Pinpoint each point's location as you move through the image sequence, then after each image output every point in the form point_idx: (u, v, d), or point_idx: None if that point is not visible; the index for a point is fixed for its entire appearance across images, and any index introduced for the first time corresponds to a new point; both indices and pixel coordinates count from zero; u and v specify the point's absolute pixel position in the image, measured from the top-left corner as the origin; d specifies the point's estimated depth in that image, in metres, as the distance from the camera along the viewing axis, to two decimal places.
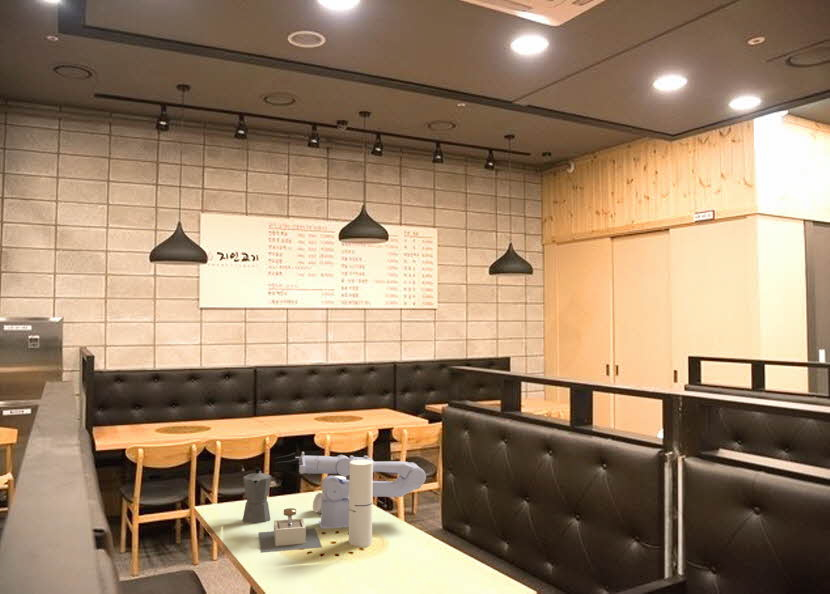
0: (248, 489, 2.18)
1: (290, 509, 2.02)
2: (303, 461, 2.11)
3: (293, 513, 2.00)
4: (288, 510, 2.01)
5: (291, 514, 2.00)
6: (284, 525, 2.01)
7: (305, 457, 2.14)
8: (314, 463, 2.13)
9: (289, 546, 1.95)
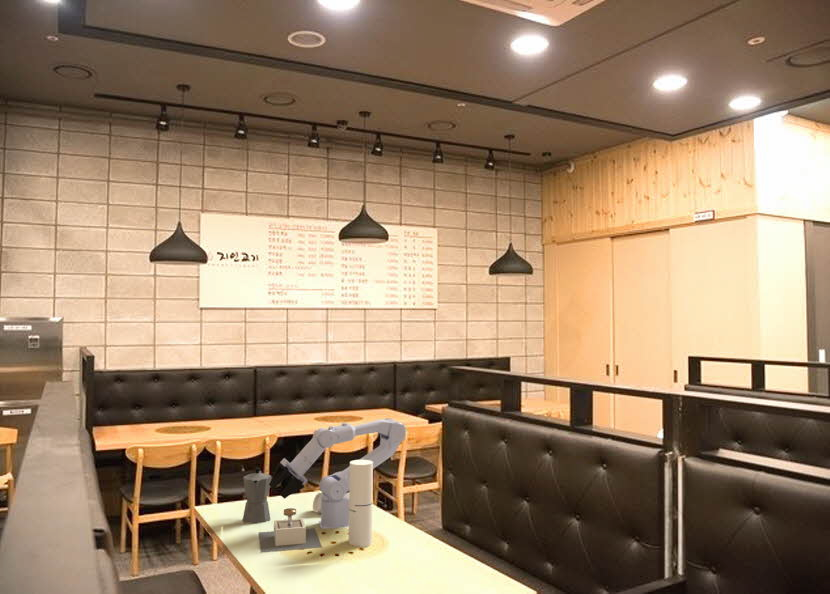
0: (248, 489, 2.18)
1: (290, 509, 2.02)
2: None
3: (293, 513, 2.00)
4: (288, 510, 2.01)
5: (291, 514, 2.00)
6: (284, 525, 2.01)
7: None
8: (298, 456, 2.11)
9: (289, 546, 1.95)
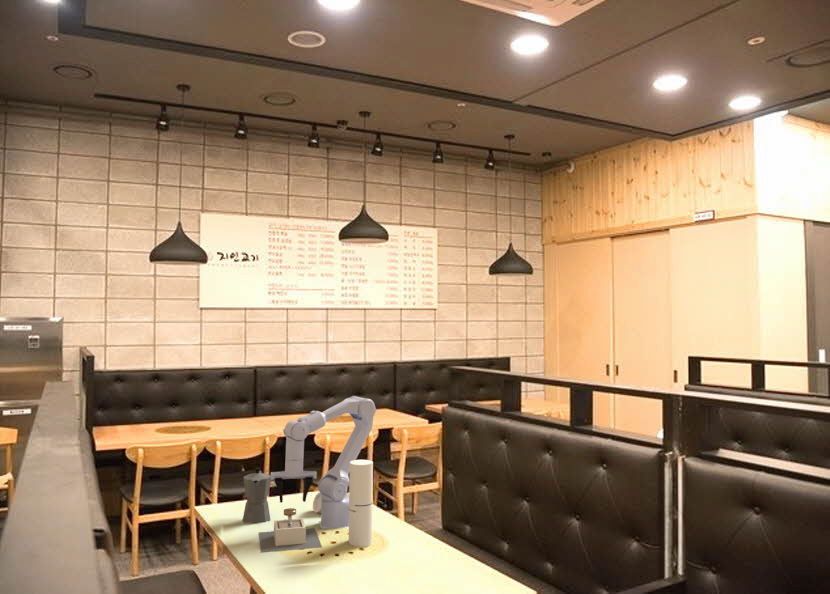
0: (248, 489, 2.18)
1: (290, 509, 2.02)
2: None
3: (293, 513, 2.00)
4: (288, 510, 2.01)
5: (291, 514, 2.00)
6: (284, 525, 2.01)
7: None
8: None
9: (289, 546, 1.95)
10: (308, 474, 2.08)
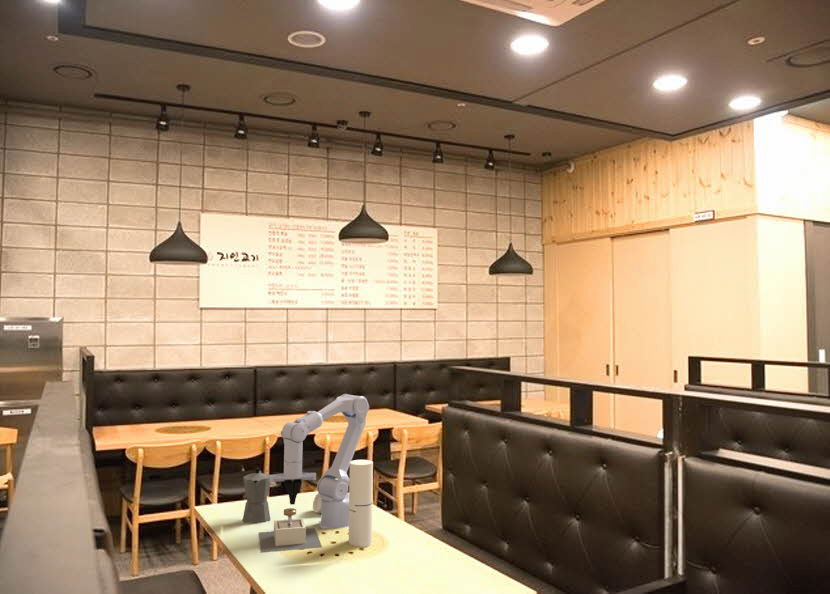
0: (248, 489, 2.18)
1: (290, 509, 2.02)
2: None
3: (293, 513, 2.00)
4: (288, 510, 2.01)
5: (291, 514, 2.00)
6: (284, 525, 2.01)
7: None
8: None
9: (289, 546, 1.95)
10: (307, 476, 2.06)
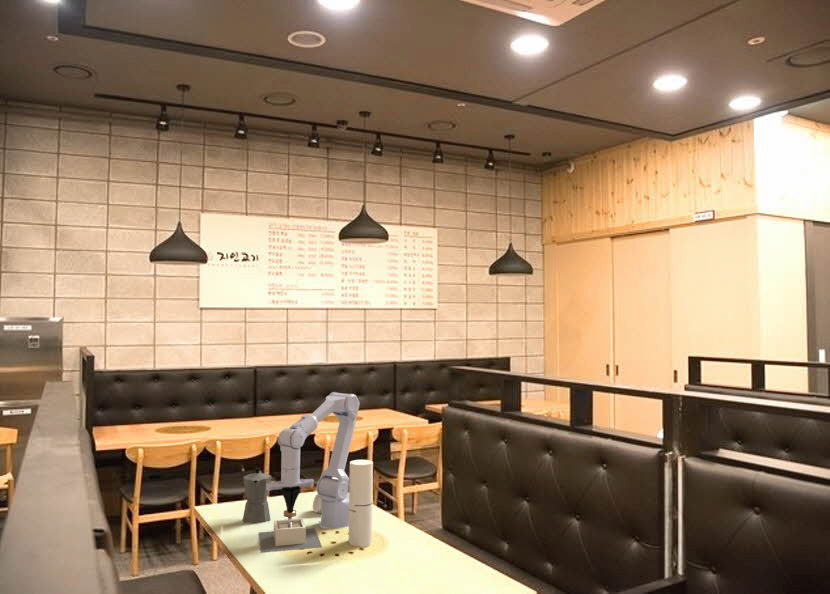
0: (248, 489, 2.18)
1: None
2: None
3: (293, 514, 2.00)
4: None
5: (291, 515, 2.00)
6: (284, 526, 2.01)
7: None
8: (281, 470, 2.02)
9: (289, 546, 1.95)
10: (305, 482, 2.02)
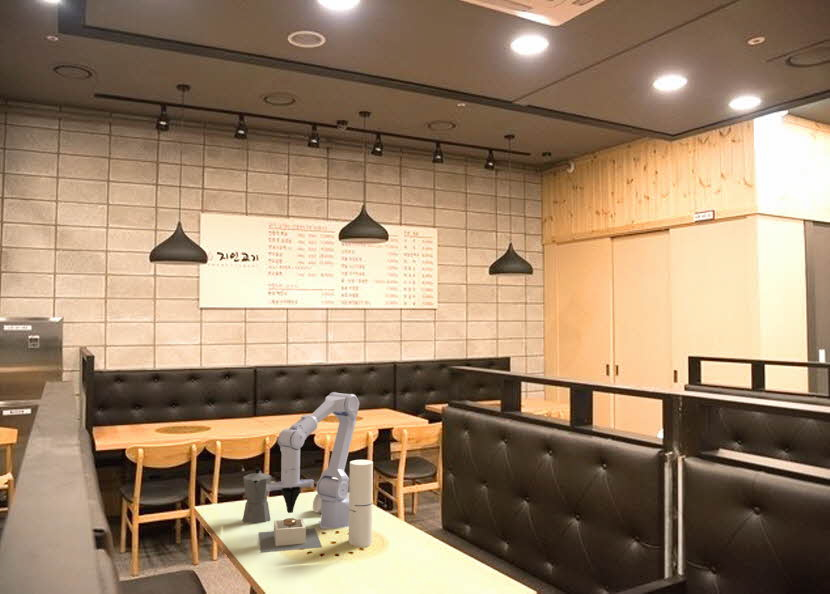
0: (248, 489, 2.18)
1: (290, 519, 2.02)
2: None
3: (293, 523, 2.00)
4: (288, 520, 2.01)
5: (291, 524, 2.00)
6: None
7: None
8: None
9: (289, 546, 1.95)
10: (305, 483, 2.02)
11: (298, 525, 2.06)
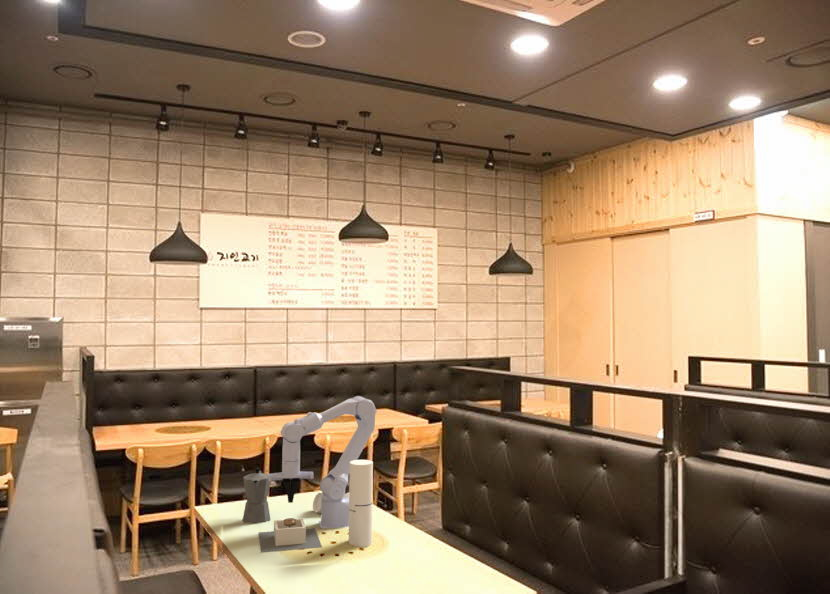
0: (248, 489, 2.18)
1: (290, 519, 2.02)
2: None
3: (293, 523, 2.00)
4: (288, 520, 2.01)
5: (291, 524, 2.00)
6: None
7: None
8: None
9: (289, 546, 1.95)
10: (305, 475, 2.11)
11: (298, 525, 2.06)
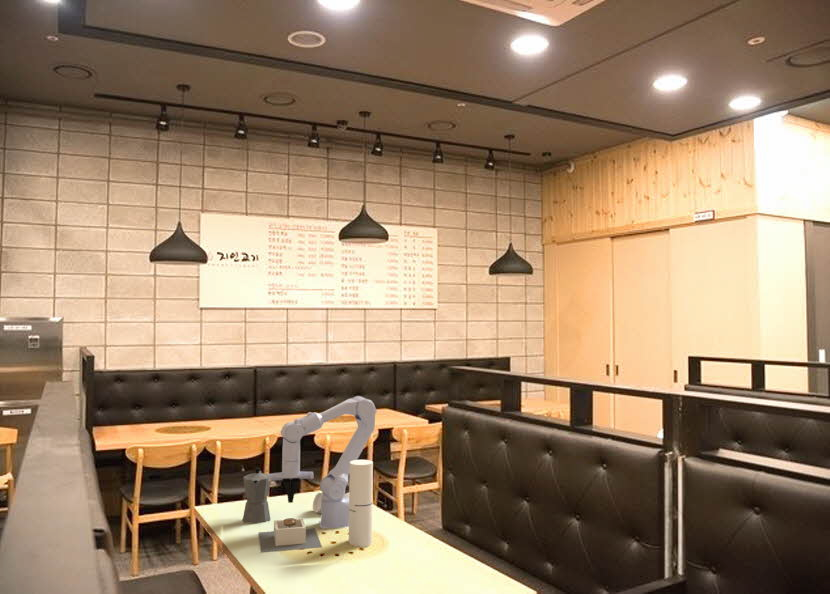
0: (248, 489, 2.18)
1: (290, 519, 2.02)
2: None
3: (293, 523, 2.00)
4: (288, 520, 2.01)
5: (291, 524, 2.00)
6: None
7: None
8: None
9: (289, 546, 1.95)
10: (305, 475, 2.11)
11: (298, 525, 2.06)
